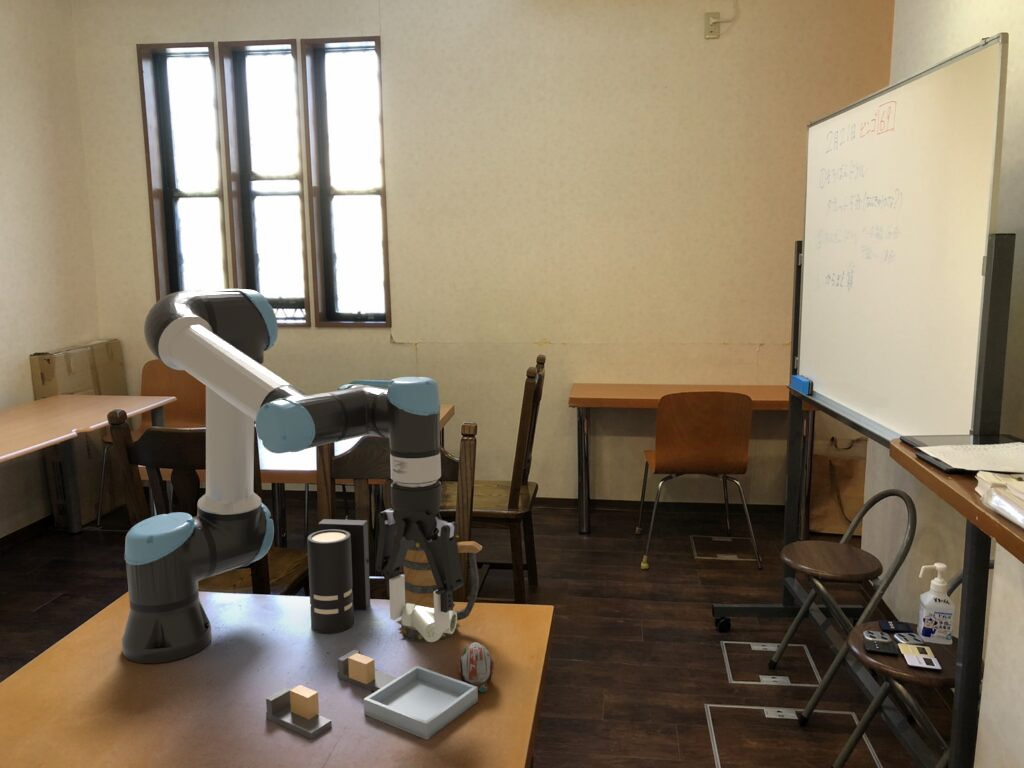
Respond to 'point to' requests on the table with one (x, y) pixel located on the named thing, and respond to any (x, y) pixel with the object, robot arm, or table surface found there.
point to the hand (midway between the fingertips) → (419, 623)
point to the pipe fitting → (425, 621)
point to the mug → (433, 583)
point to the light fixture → (338, 573)
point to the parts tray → (421, 701)
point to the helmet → (476, 665)
